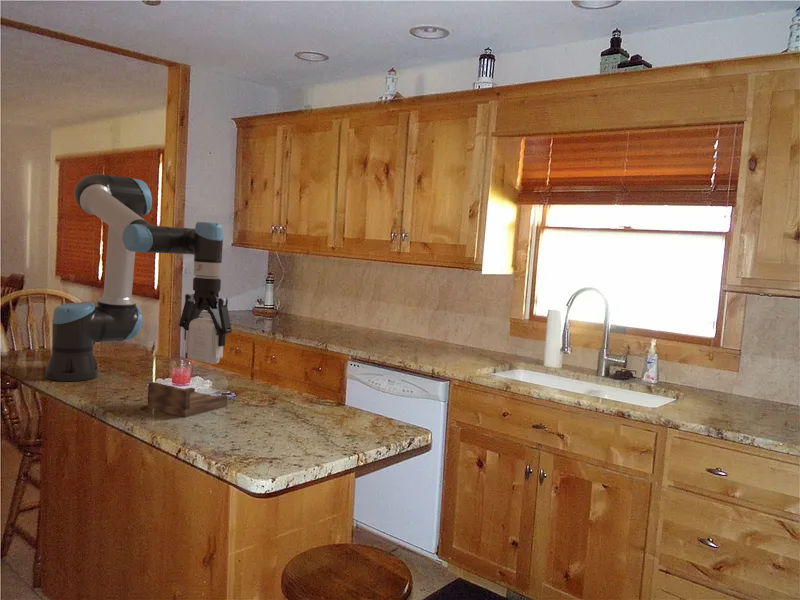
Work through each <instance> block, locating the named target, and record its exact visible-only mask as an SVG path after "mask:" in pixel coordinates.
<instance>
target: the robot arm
mask: <svg viewBox="0 0 800 600" xmlns="http://www.w3.org/2000/svg"><path fill="white" fill-rule="evenodd" d="M73 196H74V201H75V202H76V204H77V206H78V207H80V208H81V210H83V211H84V212H86V214H89V215H95V216H96V217H97V218H98V219H100V220H101V221H102V222H103V223H105V224H106V225H107V226H108V230H107V242H106V243H107V245H106V257H105V272H104V282H103V283H104V284H103V294H102V295H101V296H100V297H99V298H98V300H97V306H95V304H94V303H93V302H88V301H85V302H84V301H82V302H78V301H77V302H70V303H69V302H68V303H63V304H60V305H58V306H56V307H55V308H54V310H53V314H52V320H51V323H52V336H51V337H52V341H51V355H50V357H49V360H48V363H47V364H46V367H45V372H44V377H45V378H46V379H47V380H51V381H58V382H81V381H88V380H93V379H96V378H98V377H99V368H98V364H97V360H96V358H95V355H94V343H105V342H123V341H128V340H133V339H134V338H135V337H136V336H138V334H139V333H140V332H141V331H140V330H141V329H142V325H143V314H142V310H141V308H140V307H139V306H137V300H135V299H134V298H133V294H132V293H133V284H134V273H135V272H134V270H135V261H136V259H135V258H136V253H139V254H144V253H145V254H150V253H151V254H153V253H154V254H174V255H193V261H194V262H193V276H195V277H193V279H192V290H193V291H194V293H185V296H184V299H185V301H184V305H183V309H182V312H181V315H180V316H181V317H180V319H179V322H178V326H179V327H181V328H183V330H184V336H183V337H184V341H185V344H184V345H185V347H184V351H185V352H184V353H186V354H188V336H189V324H190V322H191V321H192V320H193V319H196V318H200V316H201V313H202V312H203V311H206V312H207V313H208V314H210V319H212V321H213V323H214V325H215V328H216V331H217V334H216V335H215V347H214V358H220V359H221V358H223V356H224V347H225V345H226V335H228V334H231V333H232V332H233V329H232V325H231V319H230V314H229V313H230V312H229V309H228V303H229V302H228V301H229V299H228V298H227V297H220V296H219V293H220V291H221V285H222V280H221V277H222V267H223V266H222V265H223V264H222V262H223V261H222V259H223V246H224V245H223V244H224V243H223V242H224V231H223V230H224V228H223V224H222V223H218V222H205V221H198V222H196V223H195V227H194V228H191V227H190V228H189V227H177V226H176V227H175V226H164V225H155V224H154V225H153V224H151V223H150V222H148V221H147V220H146V219H144V216H146V215H149V213H150V212H151V209H152V207H153V198H152V192H151V190H150V188H149V186H148V183H146V182H145V181H144V180H141V179H137V178H133V177H130V176H129V177H126V176H118V175H109V174H103V173H92V174H89V175H88V174H87V175H86V176H84V177H82V178H81V179H80V180H78V181H77V183H76V185H75V187H74V191H73Z"/></svg>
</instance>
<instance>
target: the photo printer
mask: <svg viewBox="0 0 800 600" xmlns="http://www.w3.org/2000/svg"><path fill="white" fill-rule="evenodd" d="M216 334H217V331H216V328H215V325H214V323H213V321H212V318H207V317H198V318H196V319H193V320H192V321H191V322H190V324H189V336H188V353H186V354H187V359H188V360H193V361H197V362H202V363H207V364H211V365H215V364H218V363H219V362H220V361H221V358H214V347H215V335H216Z"/></svg>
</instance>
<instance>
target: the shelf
mask: <svg viewBox="0 0 800 600" xmlns="http://www.w3.org/2000/svg"><path fill="white" fill-rule="evenodd" d="M147 384H148V386H147V407H146V408H147V409H151V410H154V411H159V412H163V413H166V414H169V415H174V416H179V417H182V418H189V417H192V416H195V415H198V414H202V413H203V414H204V413H207V412H211V411H214V410H217V409H221V408H225V407H227V406H228V395H225V394H222V395H218V396H215V395H210V394H206V393H202V392H197V391H196V389H195V388H194V387H189V388H188V387H187V388H181V387H176V386H173V385H167V384H163V383H159V382H155V381H151V382H148V383H147Z"/></svg>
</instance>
